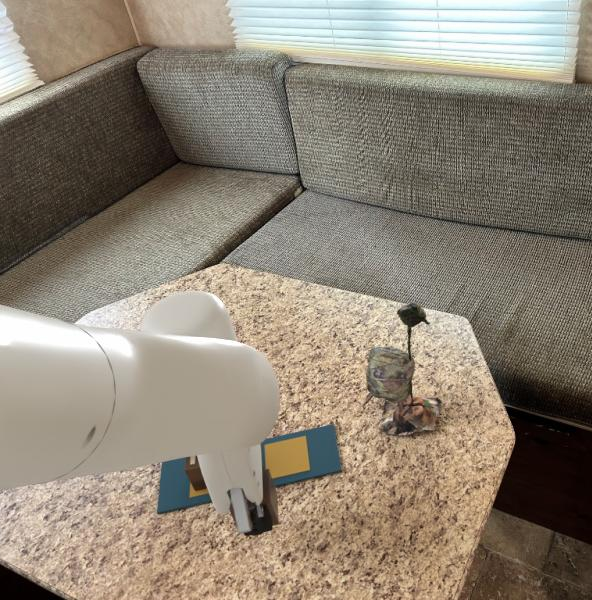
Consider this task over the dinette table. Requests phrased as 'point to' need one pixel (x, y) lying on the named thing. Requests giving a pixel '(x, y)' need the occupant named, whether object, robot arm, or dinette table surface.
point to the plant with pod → (400, 383)
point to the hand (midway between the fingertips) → (258, 510)
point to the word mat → (275, 456)
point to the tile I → (266, 498)
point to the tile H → (194, 473)
